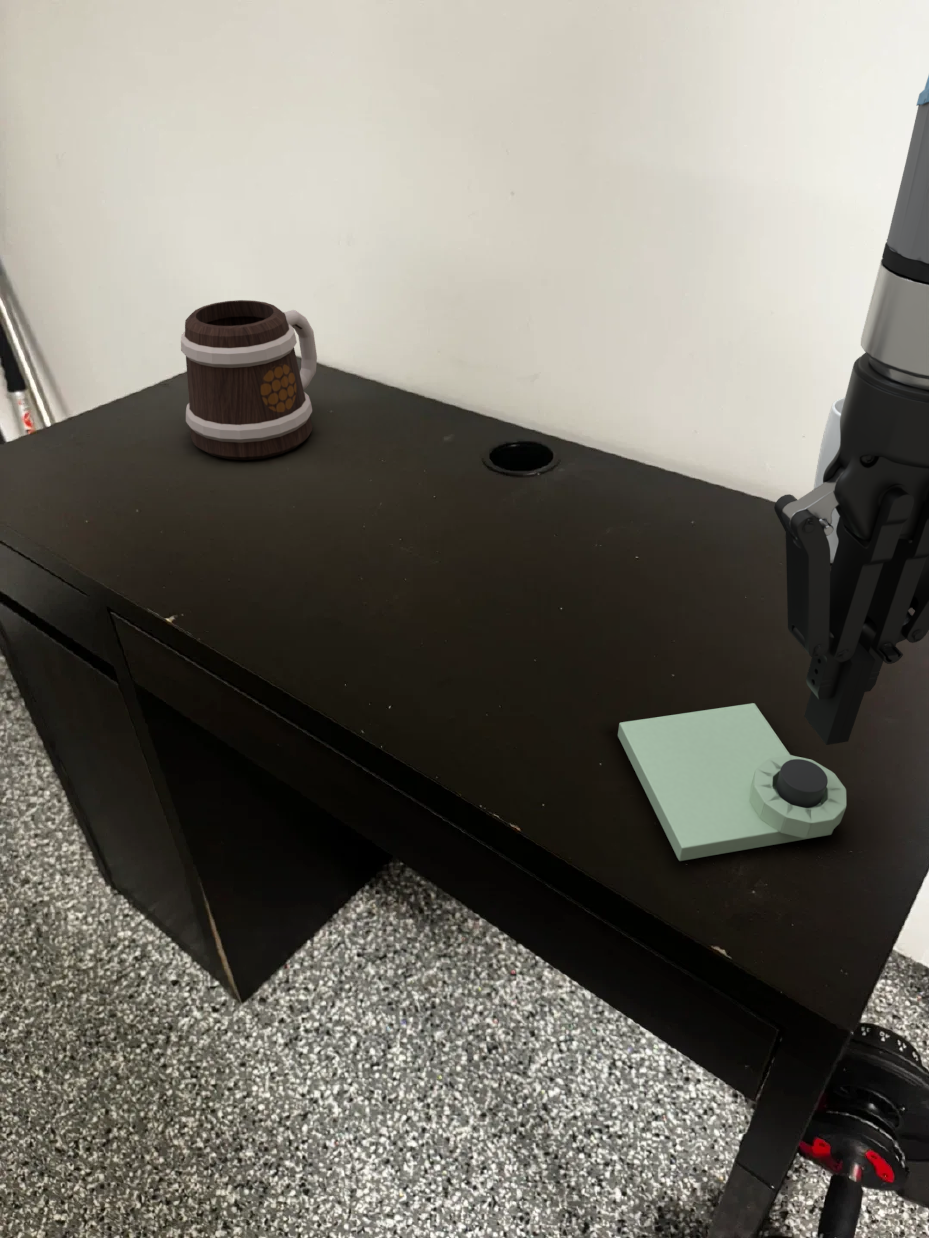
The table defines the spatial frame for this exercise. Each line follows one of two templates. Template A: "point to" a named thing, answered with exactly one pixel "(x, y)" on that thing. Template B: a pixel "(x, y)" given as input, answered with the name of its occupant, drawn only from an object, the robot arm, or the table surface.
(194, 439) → the mug
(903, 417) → the robot arm
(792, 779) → the button
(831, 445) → the drinking glass
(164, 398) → the table surface
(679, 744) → the scale
